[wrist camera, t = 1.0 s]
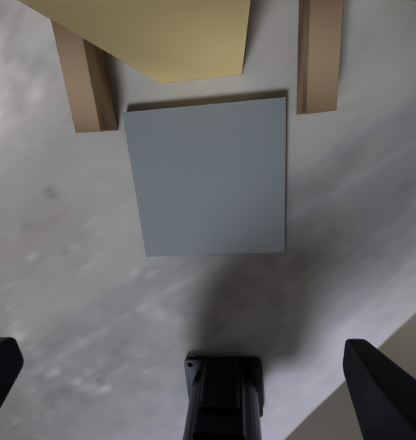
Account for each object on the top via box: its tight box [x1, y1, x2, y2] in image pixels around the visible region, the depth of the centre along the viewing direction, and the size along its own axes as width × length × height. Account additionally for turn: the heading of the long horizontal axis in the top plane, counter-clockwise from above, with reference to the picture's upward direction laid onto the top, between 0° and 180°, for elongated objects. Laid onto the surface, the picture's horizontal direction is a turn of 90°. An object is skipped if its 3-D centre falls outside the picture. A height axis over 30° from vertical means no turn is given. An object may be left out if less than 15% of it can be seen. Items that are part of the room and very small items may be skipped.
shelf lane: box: [51, 0, 343, 133], centre depth 14 cm, size 12×14×2 cm
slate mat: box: [123, 97, 286, 257], centre depth 18 cm, size 10×10×1 cm
